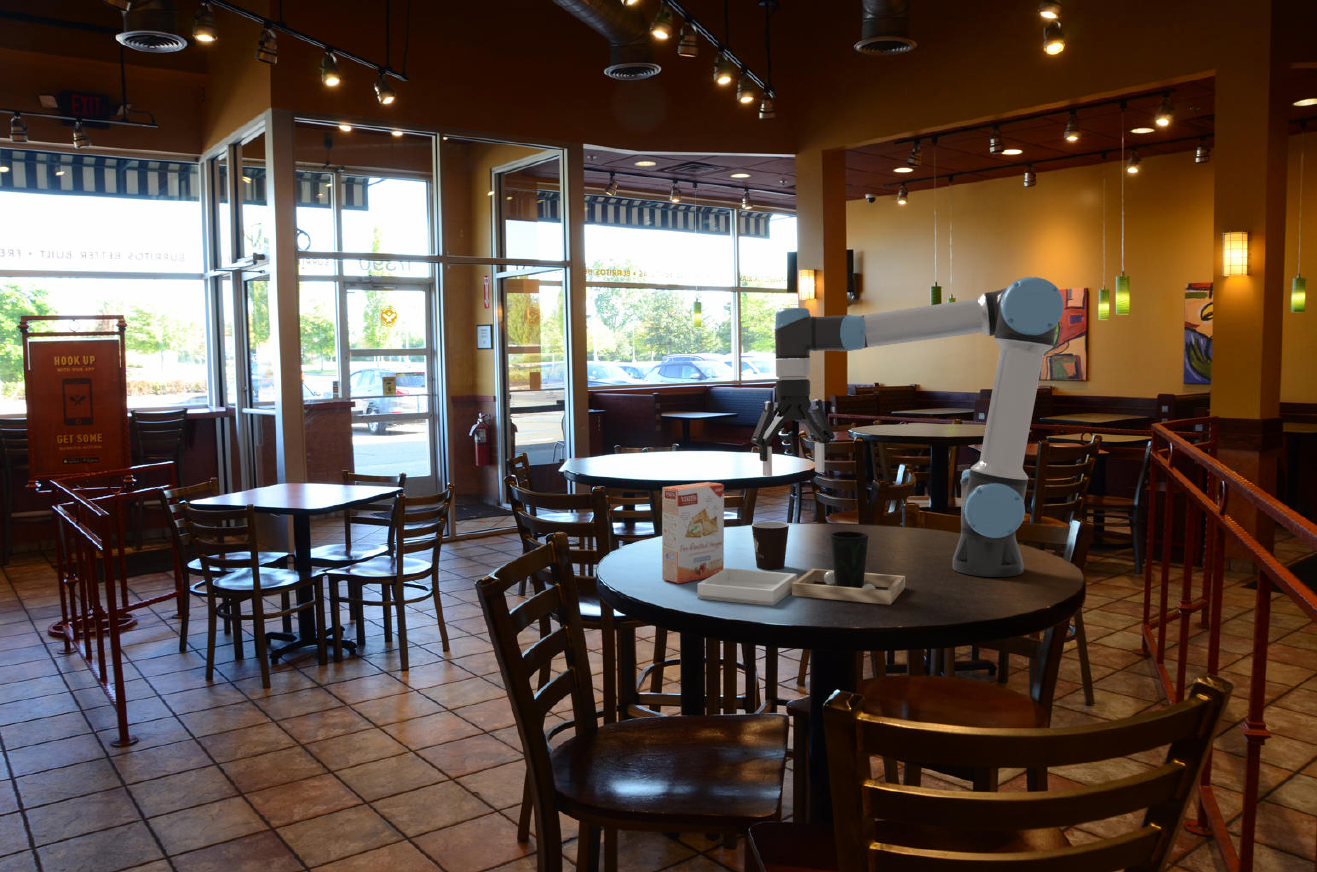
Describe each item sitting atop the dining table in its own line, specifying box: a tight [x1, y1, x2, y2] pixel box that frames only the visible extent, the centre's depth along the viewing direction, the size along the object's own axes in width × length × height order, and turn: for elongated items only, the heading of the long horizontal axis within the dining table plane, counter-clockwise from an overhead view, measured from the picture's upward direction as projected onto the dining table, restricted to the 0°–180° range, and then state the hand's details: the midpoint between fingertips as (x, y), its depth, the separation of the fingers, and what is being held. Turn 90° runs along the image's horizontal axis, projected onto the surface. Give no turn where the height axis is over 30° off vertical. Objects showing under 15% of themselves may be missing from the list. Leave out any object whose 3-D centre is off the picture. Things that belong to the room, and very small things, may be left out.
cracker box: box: [661, 481, 725, 584], centre depth 212 cm, size 14×6×21 cm, turn 130°
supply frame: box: [791, 568, 906, 606], centre depth 197 cm, size 20×15×2 cm
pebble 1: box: [824, 571, 835, 586], centre depth 203 cm, size 3×3×3 cm
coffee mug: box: [751, 521, 790, 571], centre depth 223 cm, size 12×9×10 cm
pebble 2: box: [862, 584, 877, 590], centre depth 191 cm, size 3×3×3 cm
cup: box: [830, 530, 869, 588], centre depth 197 cm, size 8×8×12 cm
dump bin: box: [697, 567, 798, 607], centre depth 197 cm, size 16×16×3 cm
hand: (793, 474), depth 212 cm, fingers open, 13 cm apart
